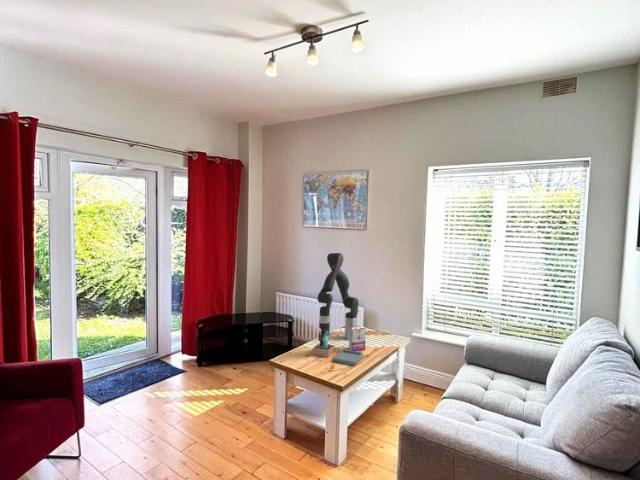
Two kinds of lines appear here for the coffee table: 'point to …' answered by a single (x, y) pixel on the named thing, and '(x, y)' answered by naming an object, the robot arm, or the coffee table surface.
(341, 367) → the coffee table surface
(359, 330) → the candy bar box
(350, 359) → the tray
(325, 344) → the teal peg
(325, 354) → the tan square open box
